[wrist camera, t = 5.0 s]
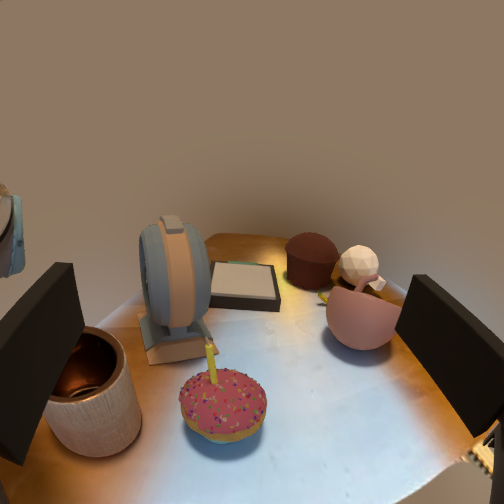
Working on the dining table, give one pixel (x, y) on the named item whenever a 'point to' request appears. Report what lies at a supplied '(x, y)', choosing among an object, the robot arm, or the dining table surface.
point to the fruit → (322, 297)
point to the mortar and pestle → (361, 316)
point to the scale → (244, 286)
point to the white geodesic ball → (360, 266)
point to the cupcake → (222, 403)
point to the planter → (95, 398)
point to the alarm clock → (174, 291)
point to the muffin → (310, 260)
